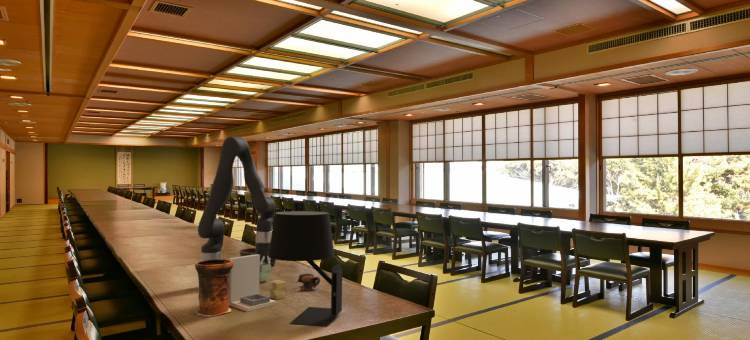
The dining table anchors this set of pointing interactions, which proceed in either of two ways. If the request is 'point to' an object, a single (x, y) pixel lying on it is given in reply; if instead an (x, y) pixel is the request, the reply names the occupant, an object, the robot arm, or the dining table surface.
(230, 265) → the vessel
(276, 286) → the mustard block
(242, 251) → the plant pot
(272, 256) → the table lamp
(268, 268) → the sage block
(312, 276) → the pottery mug
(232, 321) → the dining table surface
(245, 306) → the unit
